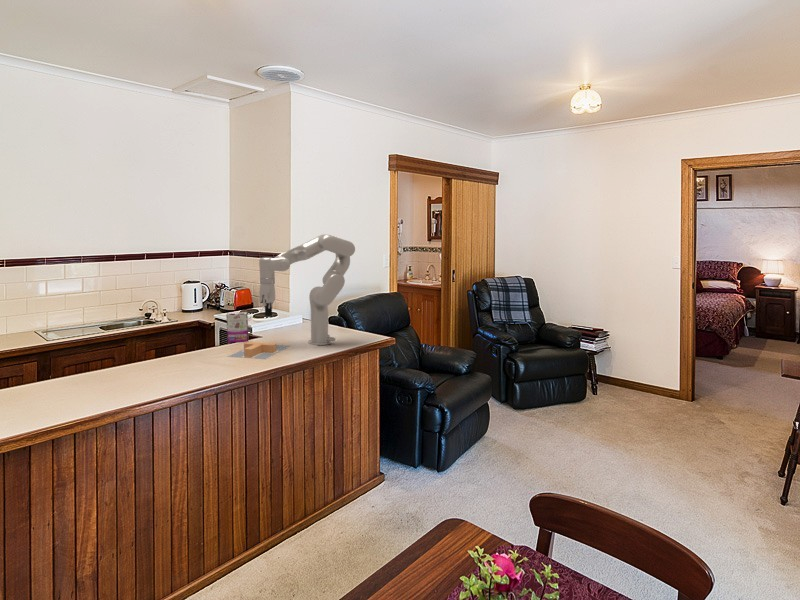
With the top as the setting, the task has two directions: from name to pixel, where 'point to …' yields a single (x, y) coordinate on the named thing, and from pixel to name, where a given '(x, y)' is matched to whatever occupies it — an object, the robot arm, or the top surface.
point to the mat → (261, 355)
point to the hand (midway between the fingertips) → (268, 315)
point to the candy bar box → (237, 327)
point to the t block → (258, 348)
